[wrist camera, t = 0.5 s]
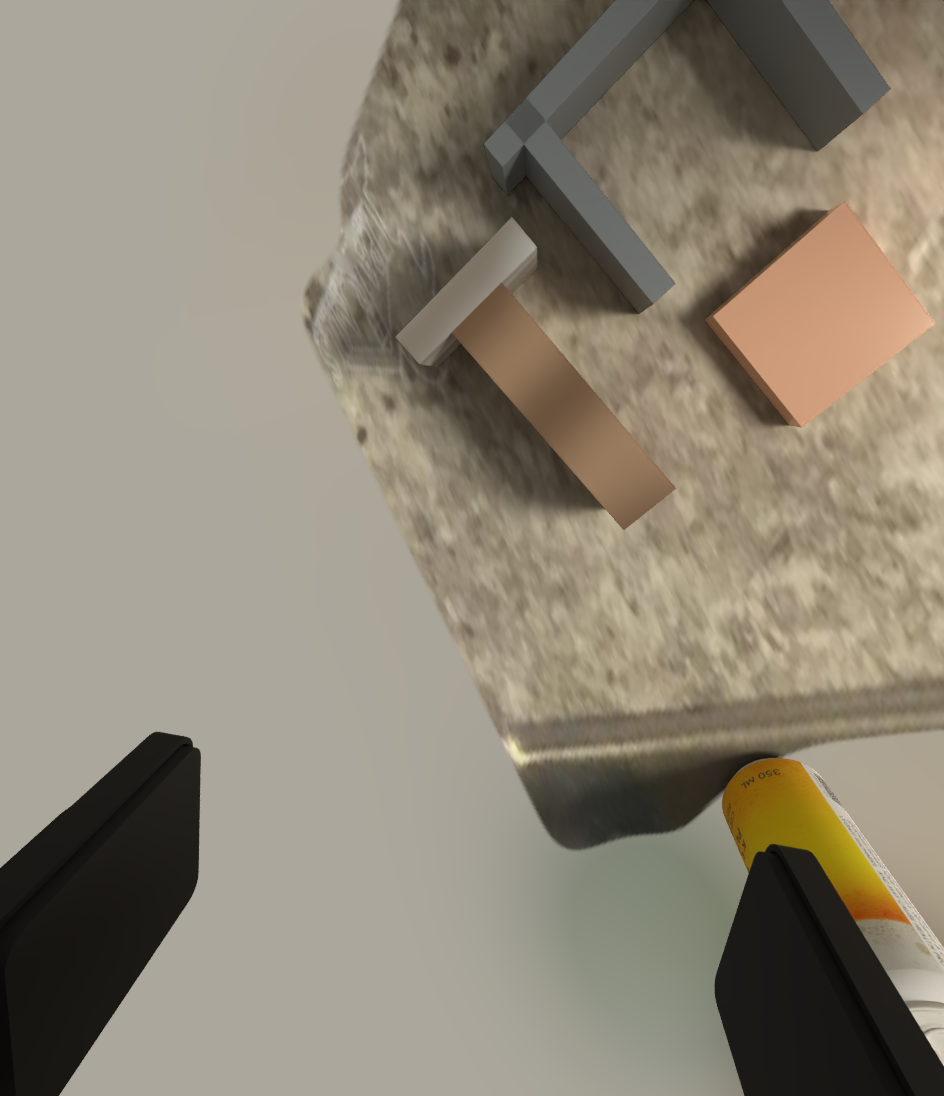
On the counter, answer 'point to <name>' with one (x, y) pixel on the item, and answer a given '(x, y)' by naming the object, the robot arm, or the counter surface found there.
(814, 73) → the bay
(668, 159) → the counter surface
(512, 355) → the scraper
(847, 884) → the beer can
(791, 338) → the tile
